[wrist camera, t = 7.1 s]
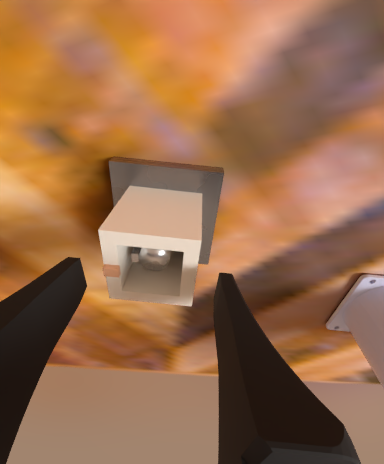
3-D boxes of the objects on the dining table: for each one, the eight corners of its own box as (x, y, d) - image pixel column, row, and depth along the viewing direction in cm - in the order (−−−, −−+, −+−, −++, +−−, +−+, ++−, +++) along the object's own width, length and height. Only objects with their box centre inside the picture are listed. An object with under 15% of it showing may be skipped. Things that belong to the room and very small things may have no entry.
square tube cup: (202, 193, 15) (201, 244, 11) (194, 249, 18) (191, 310, 13) (129, 185, 15) (95, 233, 10) (133, 243, 18) (107, 302, 13)
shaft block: (223, 168, 15) (230, 204, 11) (207, 256, 20) (208, 309, 15) (113, 156, 15) (75, 188, 11) (123, 248, 20) (99, 298, 15)
